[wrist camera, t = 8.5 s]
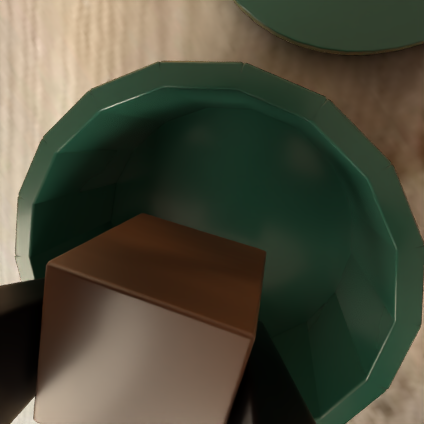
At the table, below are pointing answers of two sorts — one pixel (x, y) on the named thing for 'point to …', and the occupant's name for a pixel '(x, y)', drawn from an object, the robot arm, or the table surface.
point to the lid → (341, 23)
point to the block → (147, 326)
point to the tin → (247, 210)
